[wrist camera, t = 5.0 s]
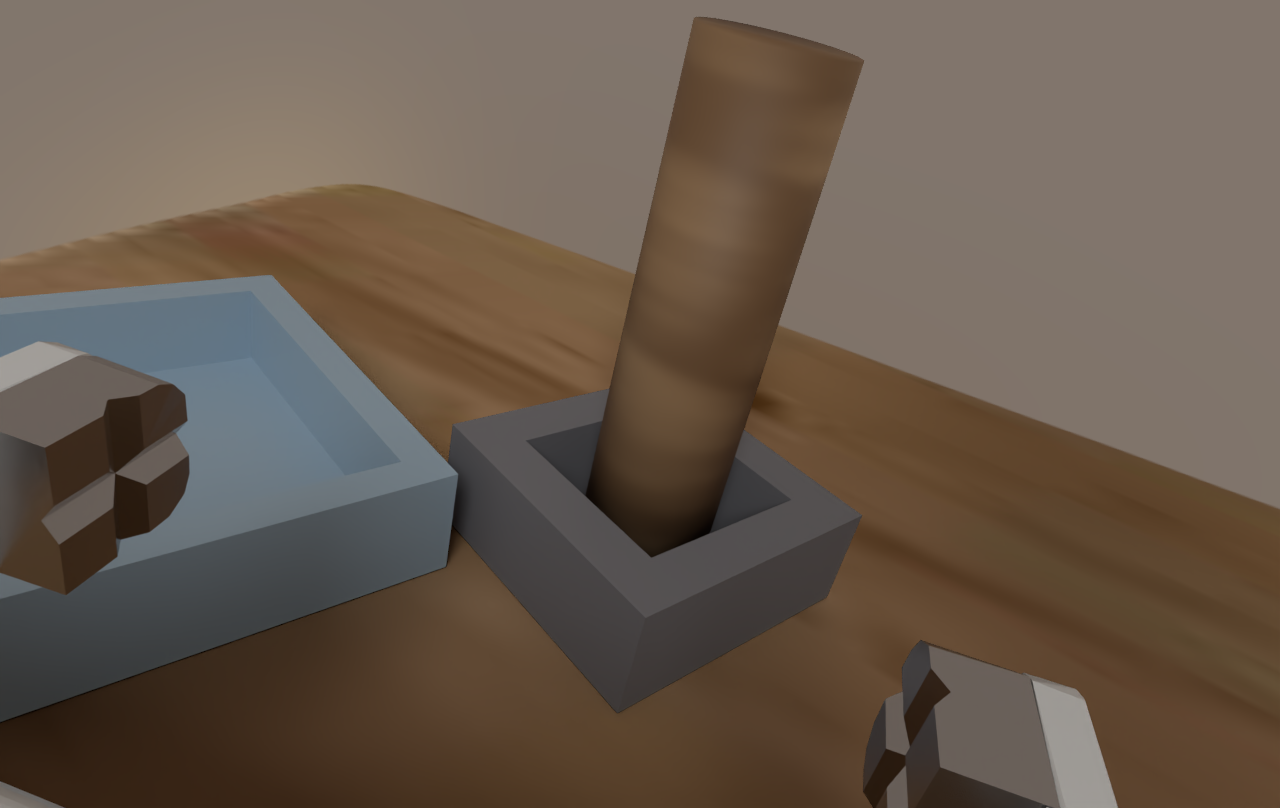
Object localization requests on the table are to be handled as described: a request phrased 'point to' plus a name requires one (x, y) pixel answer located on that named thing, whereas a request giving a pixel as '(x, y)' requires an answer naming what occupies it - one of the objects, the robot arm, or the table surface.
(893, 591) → the table surface
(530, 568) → the socket block
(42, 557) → the robot arm
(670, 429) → the dowel
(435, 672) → the table surface
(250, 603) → the tray
